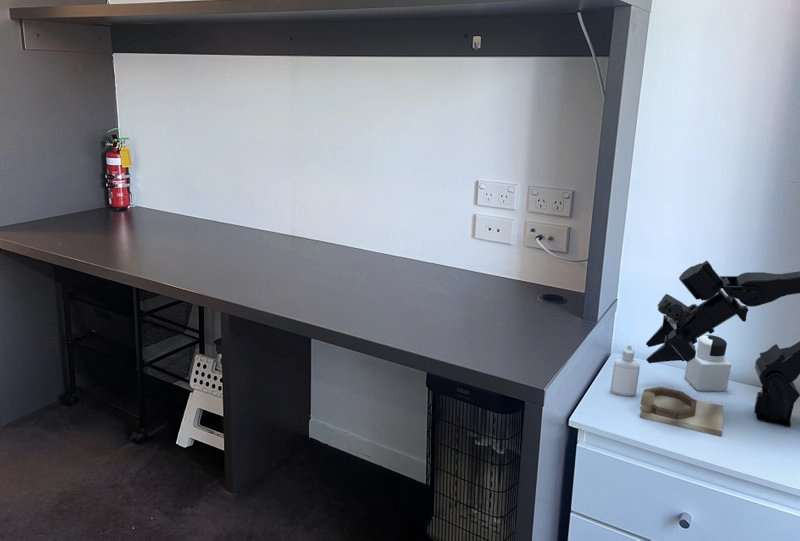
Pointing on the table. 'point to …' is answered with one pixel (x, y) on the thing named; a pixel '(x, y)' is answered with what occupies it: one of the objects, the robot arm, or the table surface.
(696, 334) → the robot arm
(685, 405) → the board
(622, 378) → the eye dropper bottle
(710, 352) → the medicine bottle
